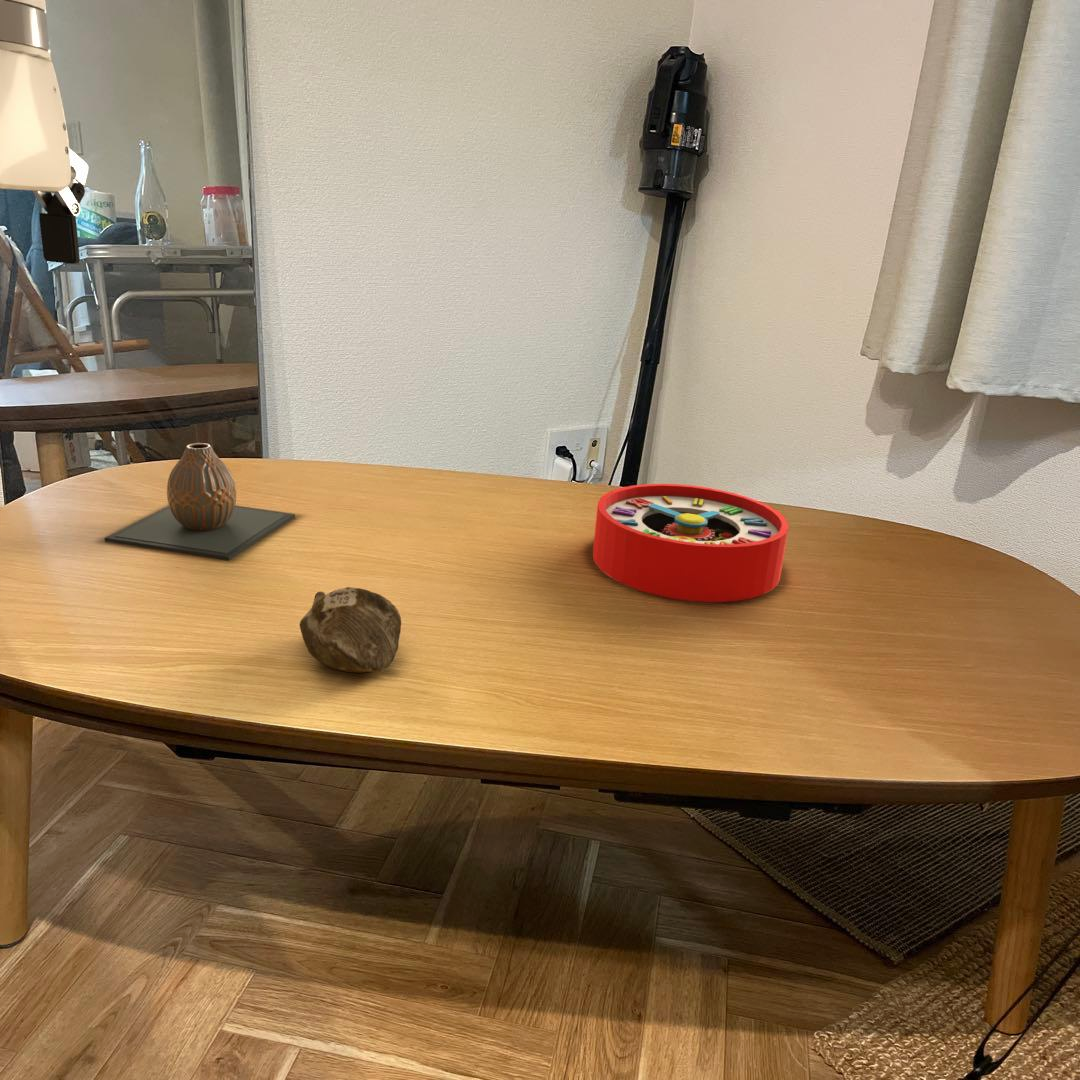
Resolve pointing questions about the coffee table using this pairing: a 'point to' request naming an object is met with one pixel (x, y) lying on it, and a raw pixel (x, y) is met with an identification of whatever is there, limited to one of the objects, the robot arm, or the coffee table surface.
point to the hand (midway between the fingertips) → (20, 264)
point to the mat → (202, 533)
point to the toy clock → (689, 542)
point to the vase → (201, 489)
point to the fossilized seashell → (352, 630)
